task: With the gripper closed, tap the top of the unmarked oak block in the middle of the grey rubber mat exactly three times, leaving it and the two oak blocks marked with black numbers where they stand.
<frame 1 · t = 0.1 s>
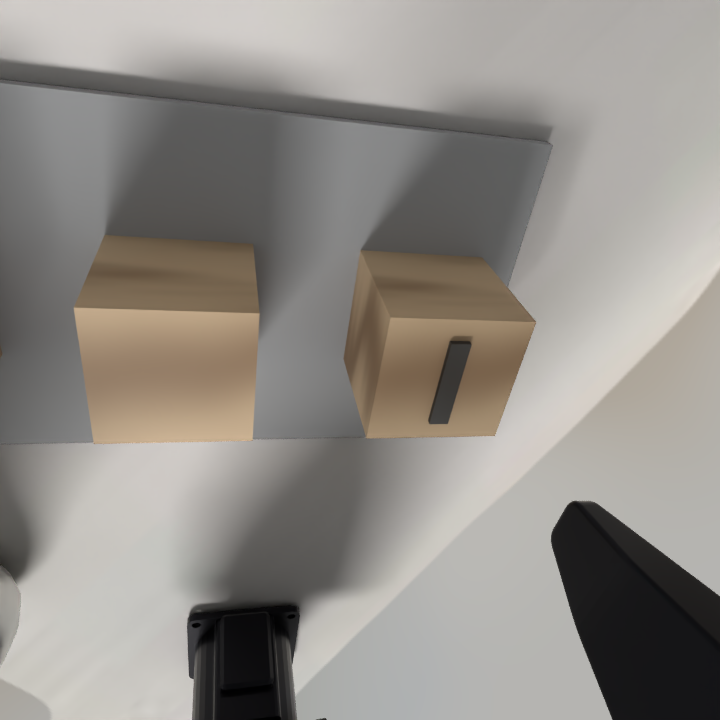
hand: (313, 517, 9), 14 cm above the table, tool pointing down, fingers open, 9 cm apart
plain oak block: (182, 301, 22), resting on grey rubber mat
oak block marked 1: (410, 309, 24), resting on grey rubber mat
grey rubber mat: (183, 295, 22), on the table
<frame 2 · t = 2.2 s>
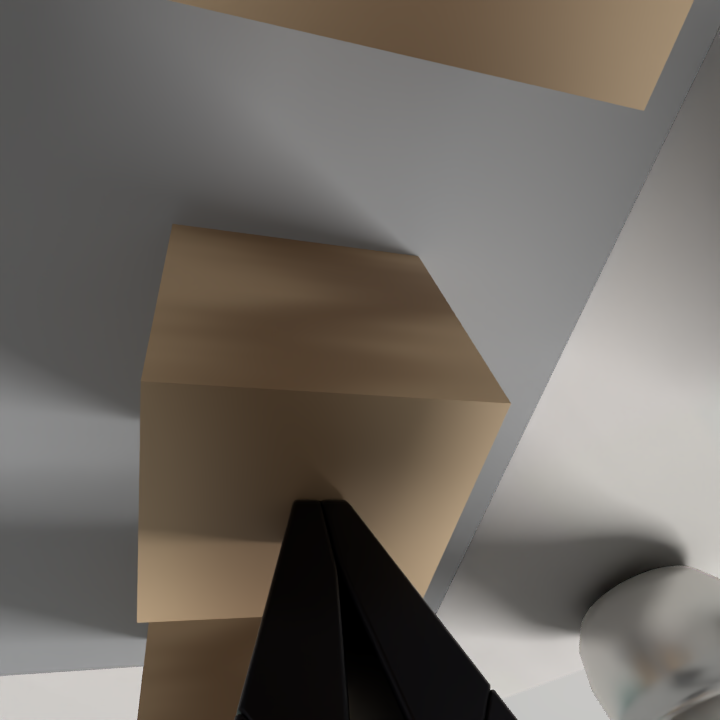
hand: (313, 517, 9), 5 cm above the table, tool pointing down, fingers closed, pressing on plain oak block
plain oak block: (284, 344, 13), resting on grey rubber mat, touching gripper
plastic bottle: (632, 590, 24), on the table
grey rubber mat: (283, 332, 13), on the table
oak block marked 7: (242, 589, 18), resting on grey rubber mat
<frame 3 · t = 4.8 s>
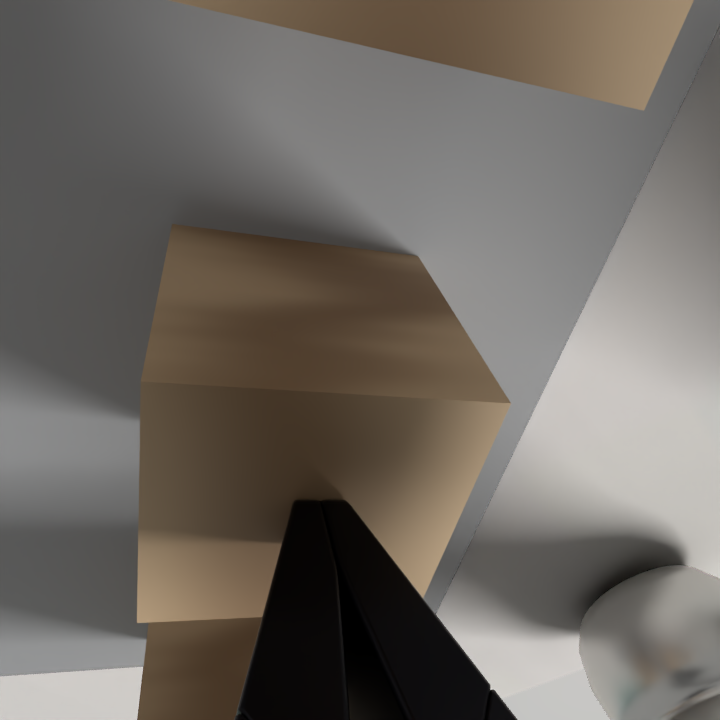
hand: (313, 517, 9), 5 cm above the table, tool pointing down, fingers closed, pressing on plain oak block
plain oak block: (284, 344, 13), resting on grey rubber mat, touching gripper
plastic bottle: (631, 589, 24), on the table
grey rubber mat: (282, 332, 13), on the table
oak block marked 7: (242, 589, 18), resting on grey rubber mat
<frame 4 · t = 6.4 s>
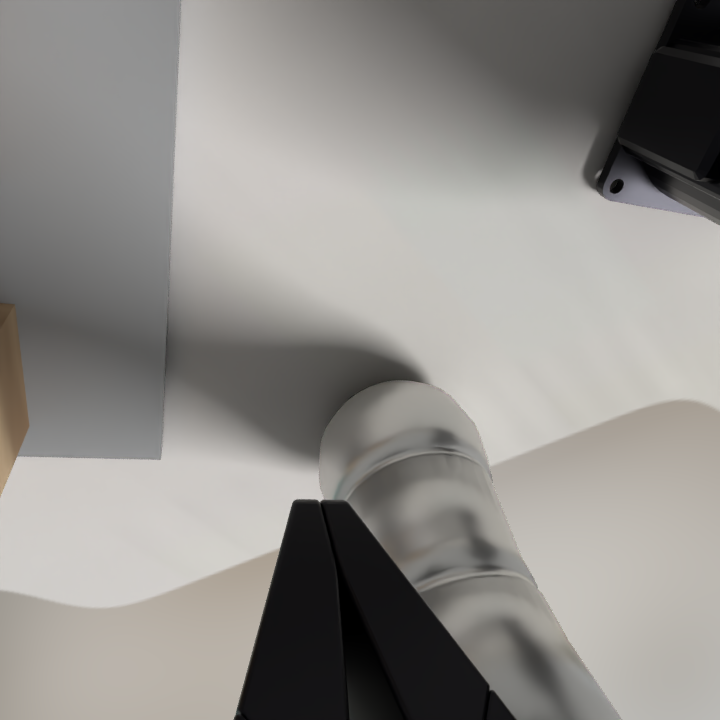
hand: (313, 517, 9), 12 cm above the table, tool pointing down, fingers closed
plastic bottle: (385, 419, 25), on the table
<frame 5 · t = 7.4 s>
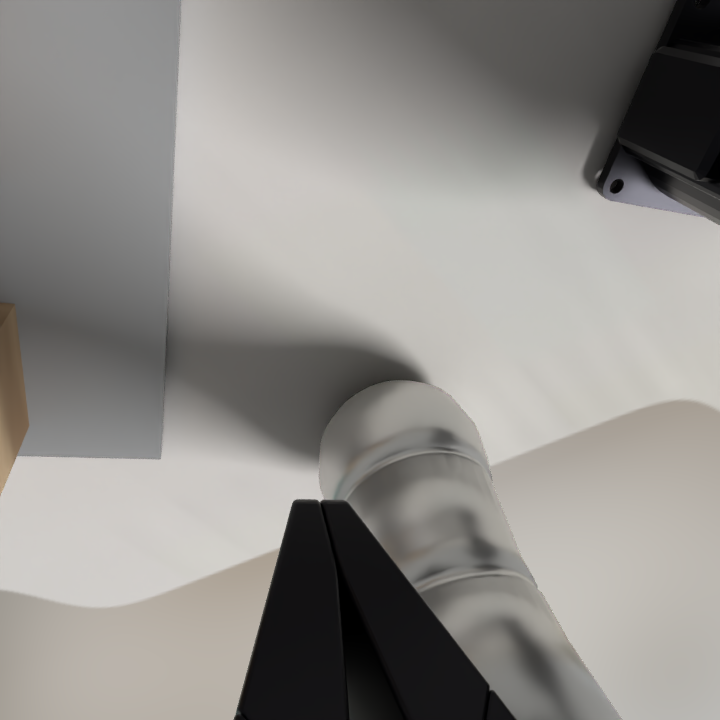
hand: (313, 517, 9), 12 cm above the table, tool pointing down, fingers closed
plastic bottle: (385, 418, 25), on the table
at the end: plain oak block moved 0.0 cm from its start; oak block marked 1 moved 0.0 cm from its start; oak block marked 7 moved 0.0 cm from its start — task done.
